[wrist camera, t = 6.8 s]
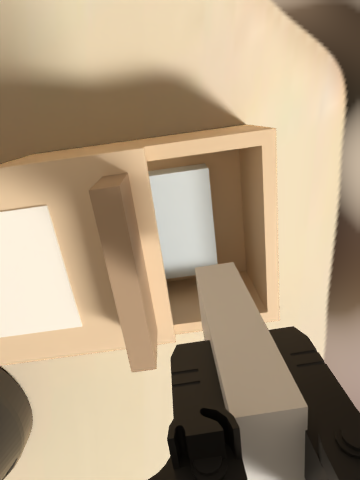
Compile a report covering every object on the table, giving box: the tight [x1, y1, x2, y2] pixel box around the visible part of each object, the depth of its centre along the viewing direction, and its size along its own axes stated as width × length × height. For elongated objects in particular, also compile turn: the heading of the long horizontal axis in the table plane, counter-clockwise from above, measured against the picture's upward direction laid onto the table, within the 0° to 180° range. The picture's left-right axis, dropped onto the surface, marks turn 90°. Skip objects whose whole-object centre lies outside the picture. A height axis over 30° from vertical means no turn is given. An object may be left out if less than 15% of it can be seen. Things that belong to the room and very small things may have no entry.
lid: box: [0, 147, 176, 372], centre depth 16 cm, size 14×11×4 cm
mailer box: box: [0, 124, 280, 335], centre depth 20 cm, size 14×11×6 cm
